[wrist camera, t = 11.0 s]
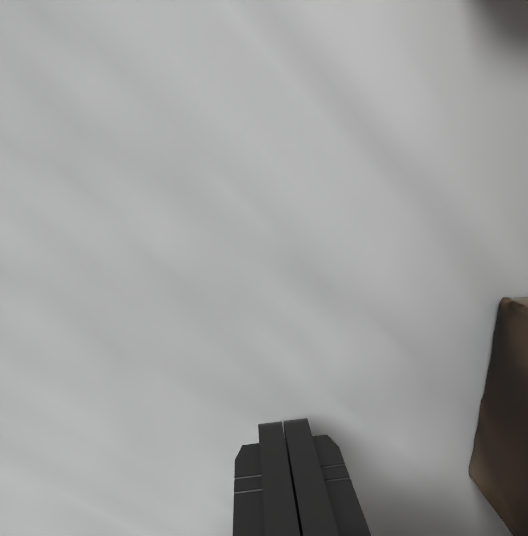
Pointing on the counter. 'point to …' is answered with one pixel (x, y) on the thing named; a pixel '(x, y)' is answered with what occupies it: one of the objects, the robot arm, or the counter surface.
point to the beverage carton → (505, 420)
